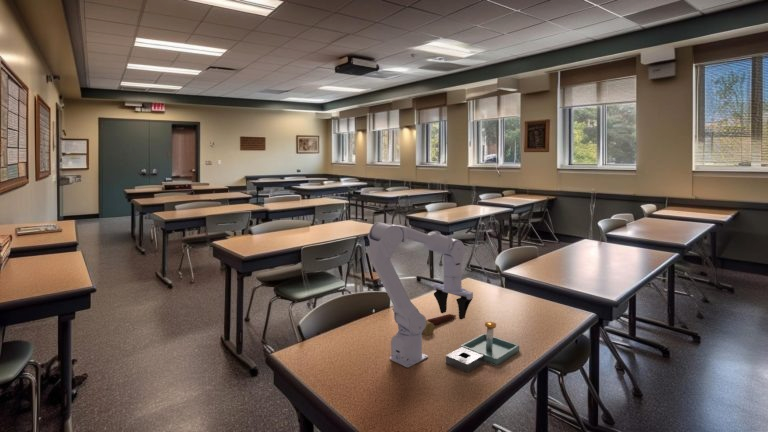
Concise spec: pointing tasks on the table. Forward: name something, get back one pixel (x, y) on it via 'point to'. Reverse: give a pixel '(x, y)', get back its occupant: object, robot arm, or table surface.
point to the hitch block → (464, 359)
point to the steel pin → (489, 335)
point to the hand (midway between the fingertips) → (452, 315)
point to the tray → (499, 349)
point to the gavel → (435, 321)
